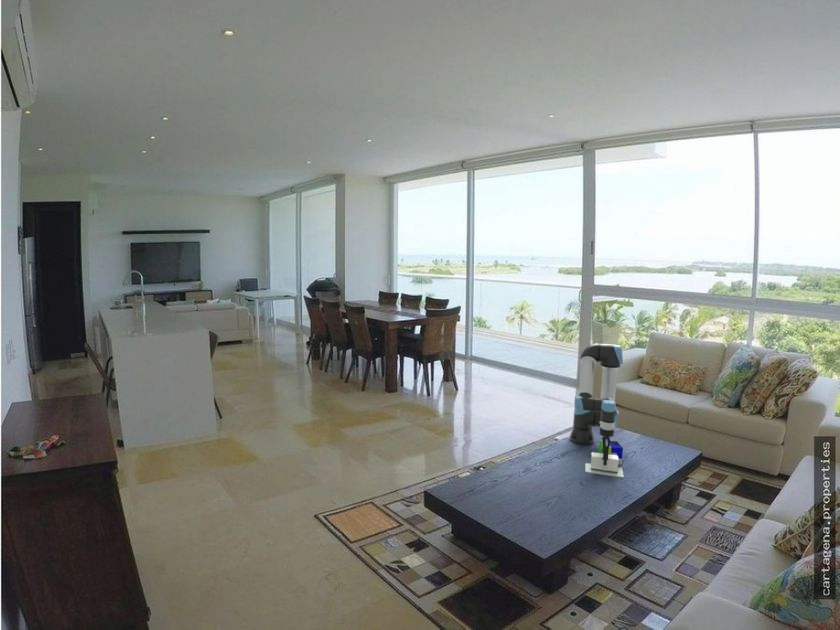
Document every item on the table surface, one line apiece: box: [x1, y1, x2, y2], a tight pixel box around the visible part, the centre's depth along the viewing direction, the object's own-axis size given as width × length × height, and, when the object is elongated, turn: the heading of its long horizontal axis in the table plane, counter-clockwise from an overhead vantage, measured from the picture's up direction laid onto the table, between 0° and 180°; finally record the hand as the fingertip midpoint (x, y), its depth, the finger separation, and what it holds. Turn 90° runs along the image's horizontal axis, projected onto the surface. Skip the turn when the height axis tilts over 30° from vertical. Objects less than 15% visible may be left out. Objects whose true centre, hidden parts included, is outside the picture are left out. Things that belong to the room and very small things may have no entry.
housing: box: [590, 451, 619, 472], centre depth 294 cm, size 14×6×7 cm, turn 73°
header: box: [584, 462, 625, 479], centre depth 294 cm, size 12×20×7 cm, turn 73°
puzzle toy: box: [598, 440, 624, 465], centre depth 308 cm, size 10×10×10 cm
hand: (604, 467), depth 294 cm, fingers open, 7 cm apart
